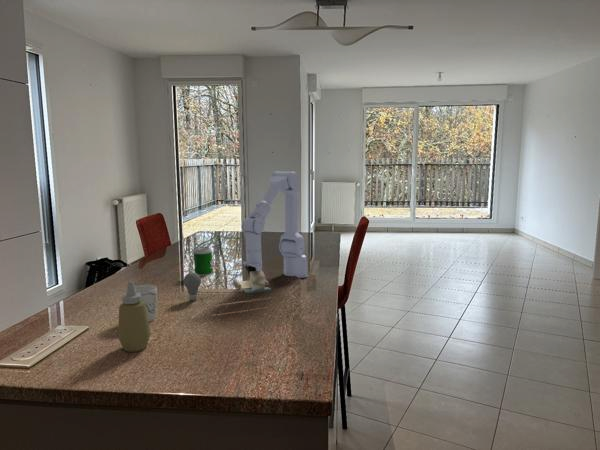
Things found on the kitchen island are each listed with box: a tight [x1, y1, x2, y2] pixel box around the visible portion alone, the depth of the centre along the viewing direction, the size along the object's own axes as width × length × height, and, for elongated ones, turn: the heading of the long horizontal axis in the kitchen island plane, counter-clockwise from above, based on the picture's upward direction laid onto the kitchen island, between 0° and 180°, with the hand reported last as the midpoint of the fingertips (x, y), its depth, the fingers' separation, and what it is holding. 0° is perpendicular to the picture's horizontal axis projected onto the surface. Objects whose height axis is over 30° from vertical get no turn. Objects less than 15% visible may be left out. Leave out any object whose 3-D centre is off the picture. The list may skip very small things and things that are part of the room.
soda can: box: [193, 246, 214, 277], centre depth 187 cm, size 8×8×12 cm
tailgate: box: [243, 286, 273, 295], centre depth 163 cm, size 9×1×6 cm
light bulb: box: [182, 271, 202, 302], centre depth 155 cm, size 6×6×10 cm
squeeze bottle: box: [117, 281, 151, 353], centre depth 116 cm, size 8×8×18 cm
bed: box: [232, 278, 270, 290], centre depth 171 cm, size 12×10×2 cm
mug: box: [134, 284, 158, 323], centre depth 136 cm, size 11×8×10 cm
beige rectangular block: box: [248, 270, 266, 291], centre depth 162 cm, size 4×4×6 cm
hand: (254, 285), depth 166 cm, fingers closed
